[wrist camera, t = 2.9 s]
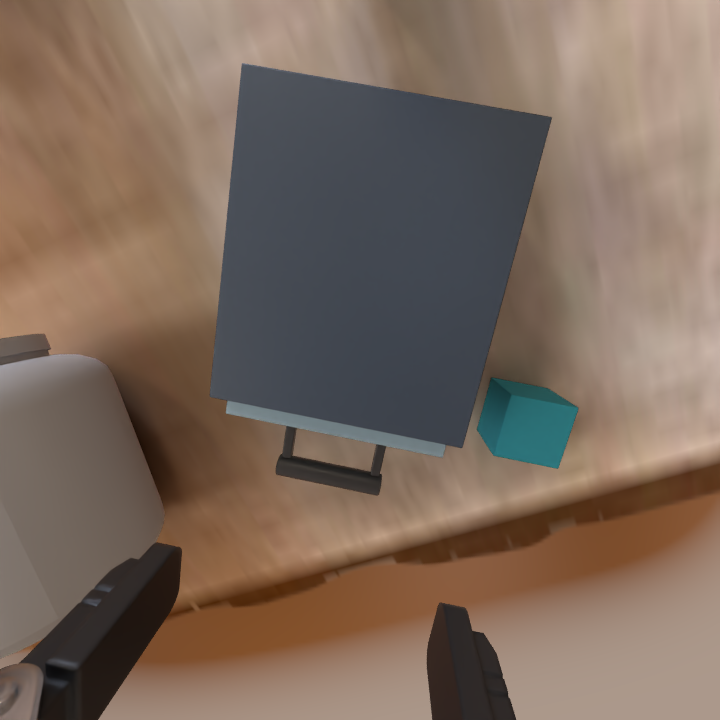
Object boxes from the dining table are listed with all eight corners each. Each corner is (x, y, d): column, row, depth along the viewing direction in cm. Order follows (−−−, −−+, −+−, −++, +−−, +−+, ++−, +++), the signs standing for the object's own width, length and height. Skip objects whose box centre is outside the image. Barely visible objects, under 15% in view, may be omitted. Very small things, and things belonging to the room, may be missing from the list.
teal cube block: (476, 429, 29) (493, 456, 24) (491, 377, 28) (511, 394, 23) (531, 441, 28) (558, 469, 24) (548, 388, 27) (579, 408, 23)
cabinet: (436, 393, 28) (462, 448, 19) (267, 359, 29) (209, 397, 19) (487, 181, 25) (552, 116, 15) (296, 147, 25) (241, 62, 16)
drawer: (413, 465, 29) (423, 532, 21) (261, 434, 29) (217, 489, 21) (474, 213, 24) (515, 180, 17) (296, 180, 25) (255, 133, 17)
